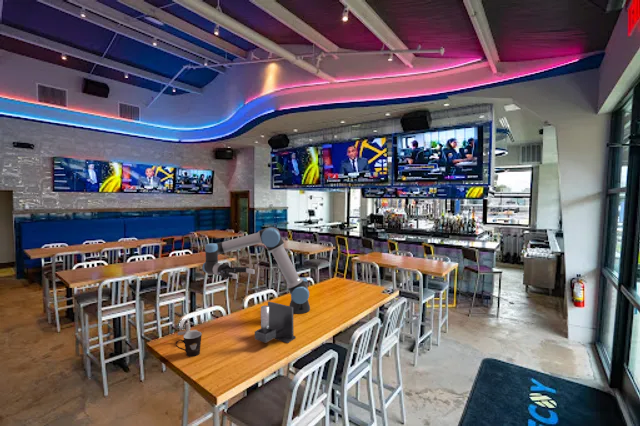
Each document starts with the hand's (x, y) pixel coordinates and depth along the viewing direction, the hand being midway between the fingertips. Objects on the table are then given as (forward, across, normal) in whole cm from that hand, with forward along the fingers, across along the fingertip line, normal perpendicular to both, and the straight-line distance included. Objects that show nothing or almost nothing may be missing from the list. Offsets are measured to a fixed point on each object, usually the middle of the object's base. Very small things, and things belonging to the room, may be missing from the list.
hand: (245, 274), depth 182 cm
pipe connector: (-20, +26, -35) cm, 48 cm away
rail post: (+20, +6, -30) cm, 37 cm away
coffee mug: (-6, +34, -35) cm, 49 cm away
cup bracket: (+21, +1, -35) cm, 41 cm away
